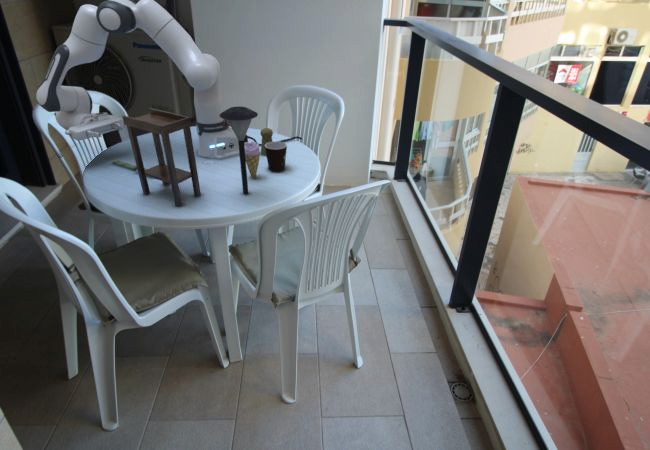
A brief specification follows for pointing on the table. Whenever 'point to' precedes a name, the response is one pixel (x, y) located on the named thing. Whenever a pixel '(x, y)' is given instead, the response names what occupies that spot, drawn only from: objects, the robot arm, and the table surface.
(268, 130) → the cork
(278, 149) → the coffee mug
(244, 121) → the solar garden light
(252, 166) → the ice cream cone
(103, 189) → the table surface
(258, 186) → the table surface
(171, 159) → the stand
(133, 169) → the fork
